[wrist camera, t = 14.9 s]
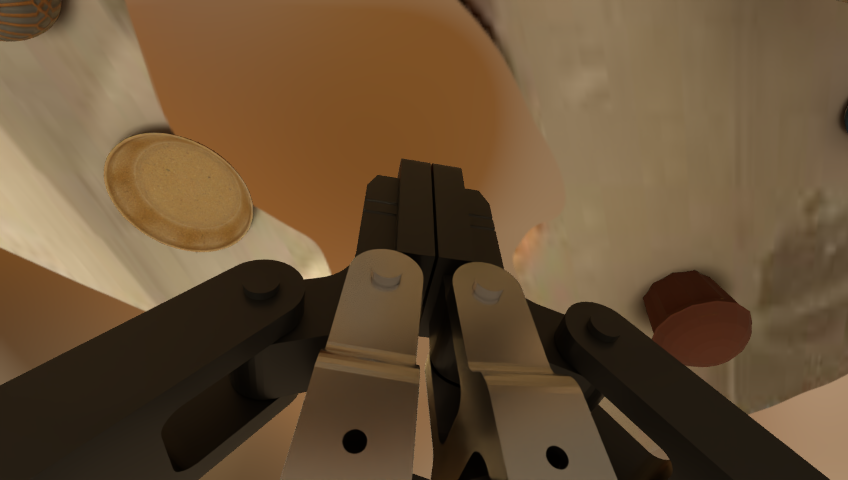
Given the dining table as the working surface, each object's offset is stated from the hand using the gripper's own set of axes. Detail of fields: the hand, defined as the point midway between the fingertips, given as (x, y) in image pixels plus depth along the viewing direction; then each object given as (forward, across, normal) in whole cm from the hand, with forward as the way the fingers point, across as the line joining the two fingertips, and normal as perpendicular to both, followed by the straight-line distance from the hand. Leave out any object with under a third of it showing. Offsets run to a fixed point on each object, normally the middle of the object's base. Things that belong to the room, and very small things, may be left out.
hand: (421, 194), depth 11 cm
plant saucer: (+32, +21, +24) cm, 46 cm away
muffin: (+32, -41, +30) cm, 60 cm away
